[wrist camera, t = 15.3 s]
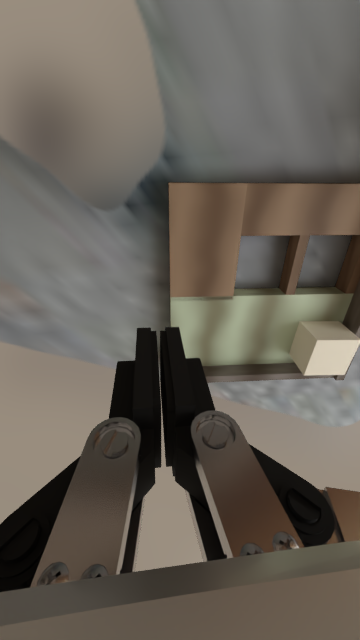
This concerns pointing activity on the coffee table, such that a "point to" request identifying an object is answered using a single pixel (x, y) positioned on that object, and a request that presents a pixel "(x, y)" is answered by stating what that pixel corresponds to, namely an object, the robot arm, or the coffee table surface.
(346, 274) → the box
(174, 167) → the coffee table surface
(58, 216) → the coffee table surface
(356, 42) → the coffee table surface
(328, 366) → the block
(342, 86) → the coffee table surface
